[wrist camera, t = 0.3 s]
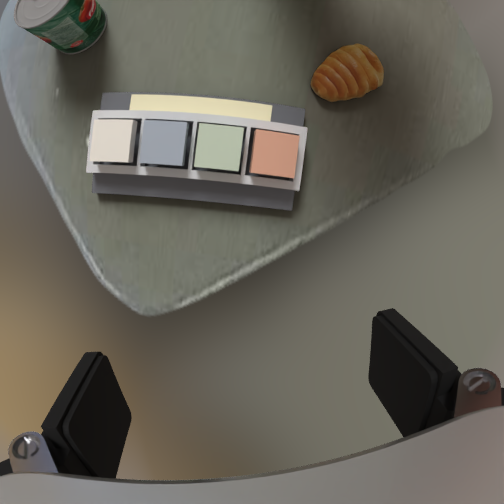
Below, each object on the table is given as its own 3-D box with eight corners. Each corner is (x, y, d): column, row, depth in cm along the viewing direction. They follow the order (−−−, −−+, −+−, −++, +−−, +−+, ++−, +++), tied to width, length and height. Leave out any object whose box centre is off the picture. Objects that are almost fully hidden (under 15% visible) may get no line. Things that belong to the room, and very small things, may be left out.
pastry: (328, 116, 35) (339, 112, 32) (296, 71, 34) (304, 62, 30) (382, 84, 35) (396, 78, 31) (353, 42, 33) (364, 33, 29)
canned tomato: (118, 19, 29) (89, -19, 19) (76, 64, 30) (34, 39, 20) (85, -4, 27) (53, -40, 16) (45, 38, 28) (3, 13, 18)
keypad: (106, 95, 32) (96, 89, 28) (302, 110, 35) (310, 105, 31) (96, 191, 35) (85, 194, 32) (289, 208, 38) (295, 213, 34)
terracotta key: (254, 131, 31) (256, 129, 30) (295, 137, 32) (299, 135, 30) (249, 172, 33) (250, 172, 31) (290, 177, 33) (294, 178, 31)
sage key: (200, 125, 31) (199, 123, 29) (242, 129, 31) (244, 127, 30) (195, 166, 32) (193, 166, 30) (237, 170, 32) (238, 171, 31)
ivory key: (100, 121, 29) (94, 119, 28) (137, 121, 30) (133, 119, 28) (95, 160, 30) (89, 161, 29) (132, 162, 31) (128, 162, 29)
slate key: (148, 122, 30) (144, 119, 28) (189, 124, 31) (187, 122, 29) (143, 162, 31) (139, 162, 29) (184, 165, 32) (181, 165, 30)
